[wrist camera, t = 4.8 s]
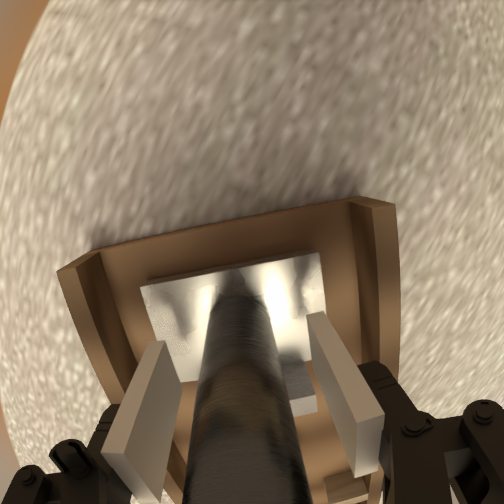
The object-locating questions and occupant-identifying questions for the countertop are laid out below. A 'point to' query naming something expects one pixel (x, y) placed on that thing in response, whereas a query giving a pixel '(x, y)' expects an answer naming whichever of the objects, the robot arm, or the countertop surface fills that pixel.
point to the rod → (243, 372)
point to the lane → (240, 250)
